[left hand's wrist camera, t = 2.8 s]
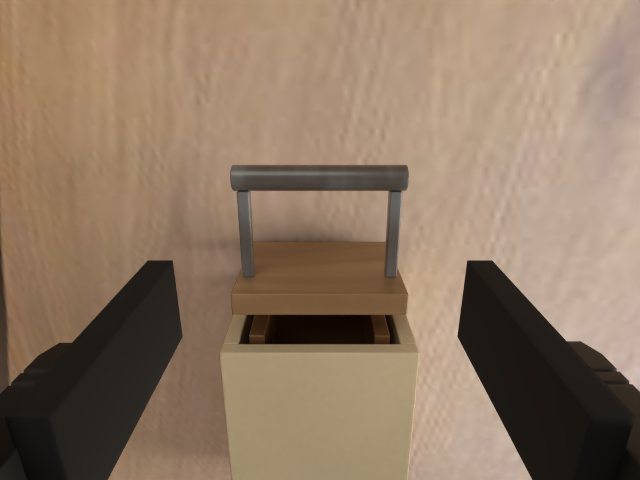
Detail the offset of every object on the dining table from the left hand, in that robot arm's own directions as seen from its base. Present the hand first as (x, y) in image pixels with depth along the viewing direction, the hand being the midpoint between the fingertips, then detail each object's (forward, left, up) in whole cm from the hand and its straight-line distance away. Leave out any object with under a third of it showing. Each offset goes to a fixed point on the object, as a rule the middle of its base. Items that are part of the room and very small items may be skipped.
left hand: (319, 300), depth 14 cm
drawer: (+8, +3, -14) cm, 16 cm away
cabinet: (+14, +5, -15) cm, 21 cm away
